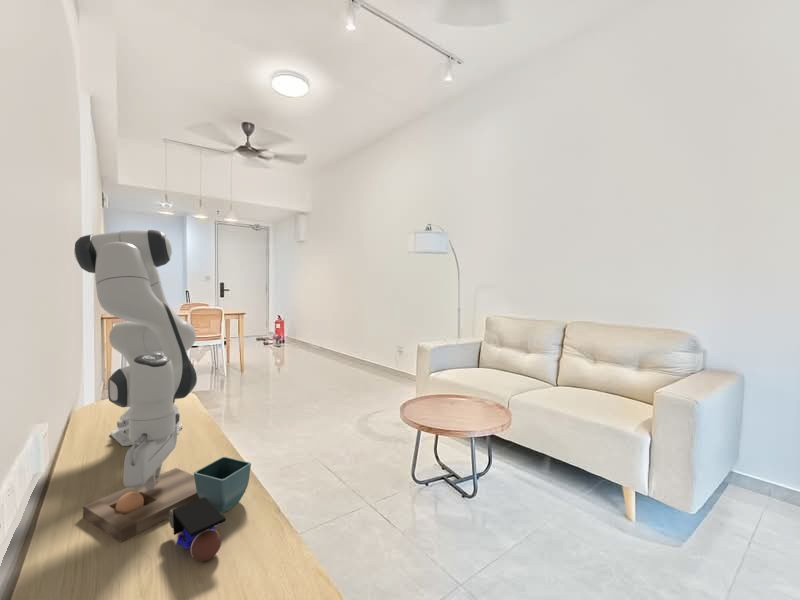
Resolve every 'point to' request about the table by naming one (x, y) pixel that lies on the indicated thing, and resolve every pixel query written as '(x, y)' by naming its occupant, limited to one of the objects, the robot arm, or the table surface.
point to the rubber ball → (129, 502)
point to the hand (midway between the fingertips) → (152, 486)
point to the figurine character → (197, 528)
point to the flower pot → (223, 482)
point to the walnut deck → (158, 502)
